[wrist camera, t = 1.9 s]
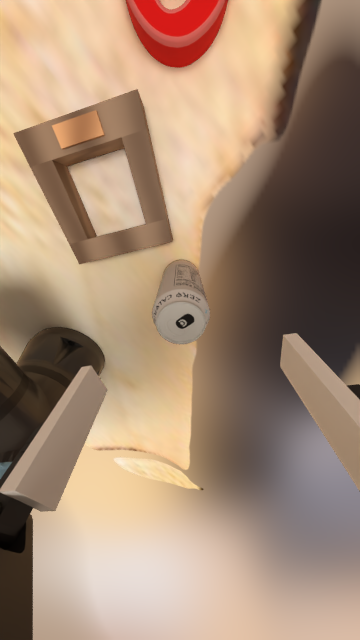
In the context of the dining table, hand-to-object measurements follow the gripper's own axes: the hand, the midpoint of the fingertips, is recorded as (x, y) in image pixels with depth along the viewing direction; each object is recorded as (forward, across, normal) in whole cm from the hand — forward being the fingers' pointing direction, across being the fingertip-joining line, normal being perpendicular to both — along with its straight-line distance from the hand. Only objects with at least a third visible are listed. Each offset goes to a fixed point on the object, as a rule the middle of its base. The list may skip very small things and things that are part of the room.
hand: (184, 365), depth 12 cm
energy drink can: (+20, 0, 0) cm, 21 cm away
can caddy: (+20, -8, +13) cm, 25 cm away
